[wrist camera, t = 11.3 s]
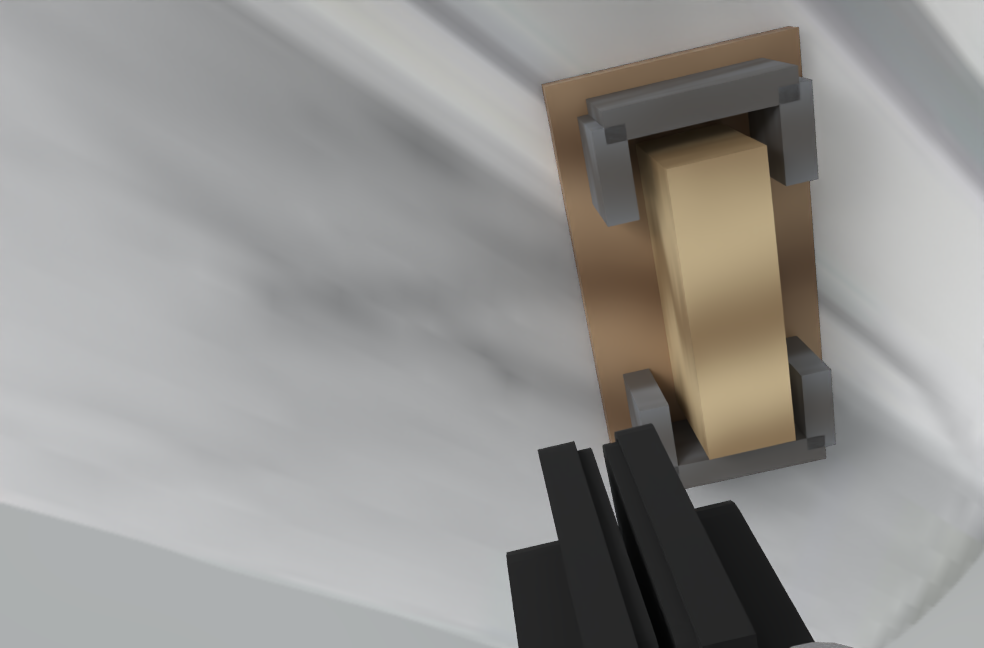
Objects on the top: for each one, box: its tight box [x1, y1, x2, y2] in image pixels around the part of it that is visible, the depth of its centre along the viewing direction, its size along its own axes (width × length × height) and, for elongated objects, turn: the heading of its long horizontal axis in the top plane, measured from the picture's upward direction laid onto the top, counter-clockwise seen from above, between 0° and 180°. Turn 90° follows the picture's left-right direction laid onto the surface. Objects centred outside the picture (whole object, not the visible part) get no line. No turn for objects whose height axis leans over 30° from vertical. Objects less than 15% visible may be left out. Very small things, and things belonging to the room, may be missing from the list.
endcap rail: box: [542, 26, 836, 489], centre depth 34 cm, size 18×10×4 cm, turn 13°
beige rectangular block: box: [635, 123, 796, 460], centre depth 33 cm, size 12×4×5 cm, turn 13°
